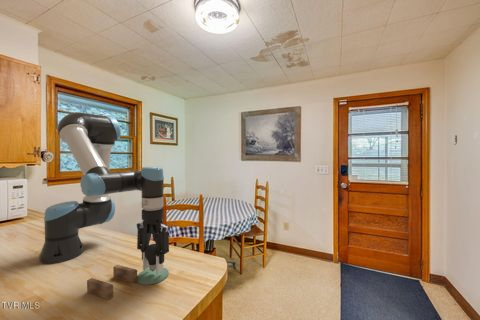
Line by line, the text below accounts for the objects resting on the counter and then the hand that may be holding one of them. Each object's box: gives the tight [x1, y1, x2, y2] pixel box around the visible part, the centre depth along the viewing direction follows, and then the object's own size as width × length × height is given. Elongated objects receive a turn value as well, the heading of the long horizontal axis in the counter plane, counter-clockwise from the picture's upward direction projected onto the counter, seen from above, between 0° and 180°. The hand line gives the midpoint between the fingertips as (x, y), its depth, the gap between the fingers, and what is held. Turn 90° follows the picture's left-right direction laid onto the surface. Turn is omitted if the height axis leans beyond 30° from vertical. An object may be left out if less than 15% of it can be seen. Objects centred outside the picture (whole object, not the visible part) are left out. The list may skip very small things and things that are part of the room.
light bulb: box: [145, 243, 158, 271], centre depth 80 cm, size 6×6×10 cm
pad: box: [136, 267, 169, 286], centre depth 80 cm, size 11×11×1 cm
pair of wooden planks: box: [86, 264, 138, 301], centre depth 74 cm, size 10×11×4 cm
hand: (152, 269), depth 80 cm, fingers closed on light bulb, 6 cm apart
